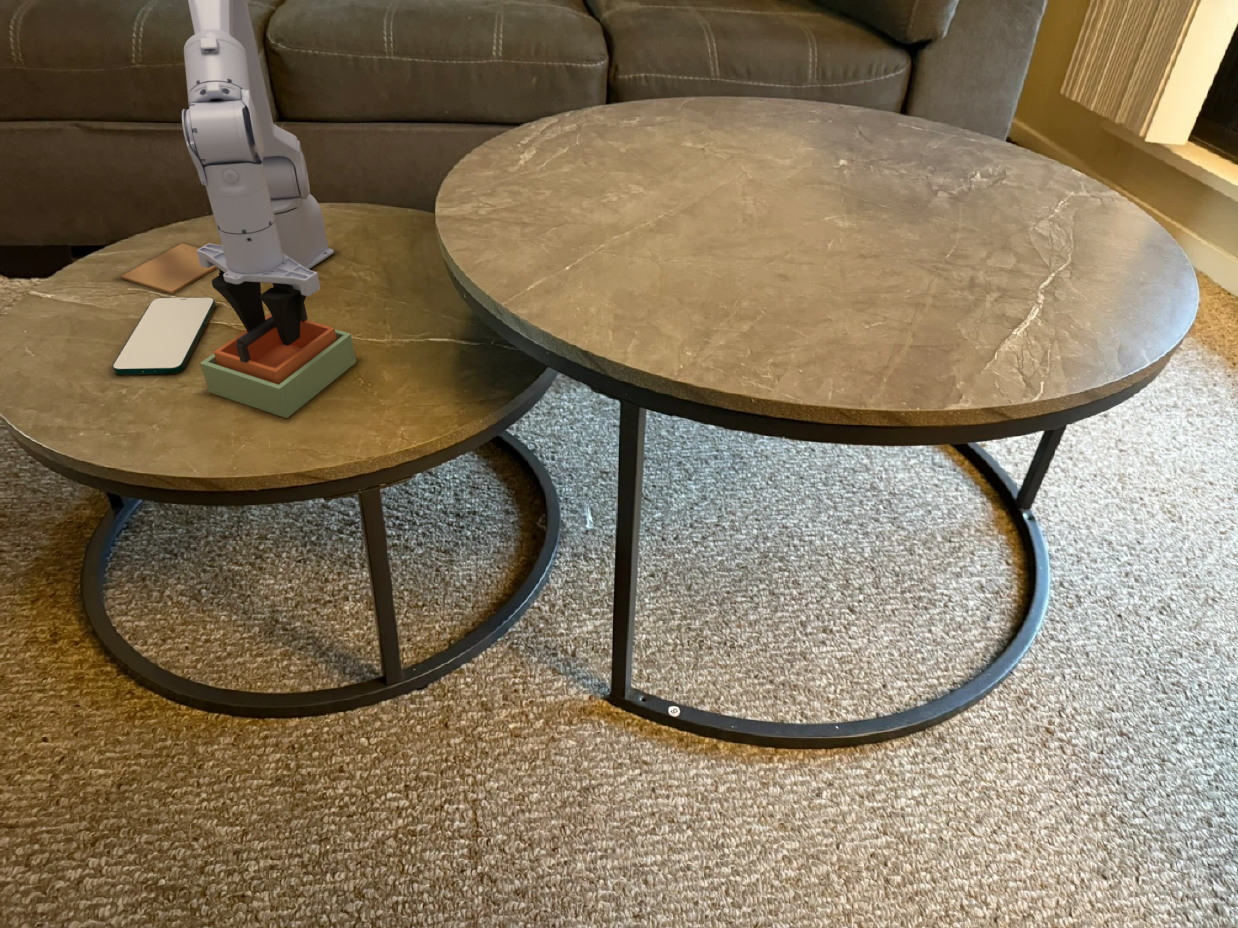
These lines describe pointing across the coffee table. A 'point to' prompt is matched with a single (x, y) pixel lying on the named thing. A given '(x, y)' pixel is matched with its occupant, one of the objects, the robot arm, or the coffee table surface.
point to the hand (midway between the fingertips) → (274, 335)
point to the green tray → (292, 389)
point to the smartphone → (165, 336)
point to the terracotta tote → (274, 350)
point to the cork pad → (170, 270)
